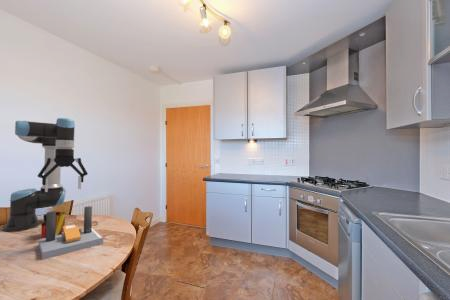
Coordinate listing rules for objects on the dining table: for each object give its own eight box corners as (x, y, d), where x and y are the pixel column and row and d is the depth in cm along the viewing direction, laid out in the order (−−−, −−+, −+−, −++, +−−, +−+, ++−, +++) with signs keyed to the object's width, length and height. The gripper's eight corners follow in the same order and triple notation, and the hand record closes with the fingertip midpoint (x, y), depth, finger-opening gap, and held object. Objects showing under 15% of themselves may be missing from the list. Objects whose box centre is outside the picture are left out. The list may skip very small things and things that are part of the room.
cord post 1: (45, 240, 105) (46, 212, 106) (54, 238, 108) (55, 210, 108) (46, 242, 103) (47, 213, 103) (55, 240, 105) (56, 212, 106)
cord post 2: (82, 232, 117) (83, 206, 117) (90, 230, 119) (91, 205, 120) (84, 234, 114) (85, 208, 115) (92, 232, 117) (92, 207, 117)
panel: (38, 245, 106) (39, 231, 107) (92, 233, 123) (93, 221, 124) (42, 259, 92) (43, 243, 93) (103, 243, 109) (103, 230, 110)
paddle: (62, 229, 110) (62, 226, 110) (76, 226, 114) (76, 223, 114) (65, 242, 102) (66, 239, 102) (81, 239, 106) (81, 236, 106)
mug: (40, 242, 110) (41, 219, 110) (43, 234, 121) (44, 213, 121) (64, 238, 116) (64, 216, 116) (64, 230, 127) (65, 210, 127)
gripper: (32, 147, 96) (30, 194, 96) (94, 149, 114) (93, 188, 113) (31, 148, 102) (29, 191, 101) (91, 149, 119) (90, 186, 119)
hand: (63, 190), depth 107 cm, fingers open, 13 cm apart
